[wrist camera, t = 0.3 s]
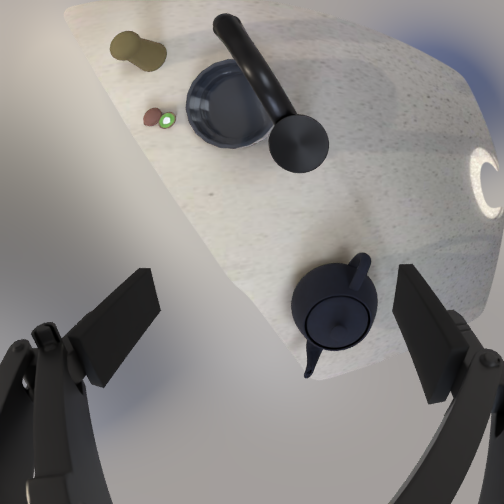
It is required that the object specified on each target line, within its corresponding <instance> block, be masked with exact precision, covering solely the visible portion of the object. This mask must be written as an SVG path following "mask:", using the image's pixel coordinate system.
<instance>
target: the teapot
mask: <svg viewBox="0 0 504 504" xmlns="http://www.w3.org/2000/svg"><path fill="white" fill-rule="evenodd" d="M370 264H371V258H370V256H369V255H368V254H366V253H359V254H357V255H356V256H355V257H354V258H353V259H352V260H351V261H350V262H349V264H348V265H347V264H342V263H332V264H326V265H322V266H319V267H317V268H315V269H313V270H312V271H310V272H309V273H307V274H306V275H305V276H304V277H303V278H302V279H301V280H300V282H299V283H298V284H297V286H296V288H295V290H294V293H293V296H292V301H291V310H292V315H293V319H294V321H295V324H296V325H297V327H298V329H299V330H300V332H301V333H302V334H303V335H304V337H305V338H306V339H307V344H306V351H307V367H306V370H305V373H304V377H305V378H309V377H310V376H311V375H312V373H313V371H314V369H315V366H316V364H317V361H318V359H319V357H320V354H321V352H322V350H323V349H324V350H328V351H340V350H345V349H348V348H351V347H353V346H355V345H357V344H358V343H359V342H361V341H362V340H363V339H364V338H365V337H366V335H367V334H368V332H369V331H370V329H371V326H372V324H373V322H374V319H375V316H376V312H377V305H378V299H377V292H376V289H375V286H374V284H373V282H372V281H371V279H370V278H369V277H368V276H367V272H368V270H369V267H370Z"/></svg>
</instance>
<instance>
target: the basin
mask: <svg viewBox="0 0 504 504" xmlns="http://www.w3.org/2000/svg"><path fill="white" fill-rule="evenodd" d="M186 112H187V116H188V121H189V123H190V125H191V126H192V128H193V130H194V131H195V133H196V134H197V135H198V136H199V137H201V138H202V139H203V140H204V141H205V142H207V143H209V144H212V145H214V146H217V147H219V148H230V149H236V148H242V147H247V146H251V145H254V144H256V143H258V142H260V141H261V140H263V139H265V138H266V137H267V136H268V135H269V134H270V133H271V131H272V129H273V127H274V124H273V123H272V121H271V119H270V117H269V116H268V114H267V112H266V110H265V109H264V107H263V105H262V103H261V102H260V100H259V98H258V97H257V95H256V93H255V92H254V90H253V88H252V87H251V85H250V83H249V82H248V80H247V79H246V77H245V75H244V74H243V72H242V71H241V69H240V67H239V66H238V64H237V63H236V61H235V60H234V59H227V60H224V61H220V62H217V63H214V64H212V65H211V66H209V67H208V68H206V69H205V70H203V71H202V72H201V73H200V74H199V75H198V76H197V78H196V79H195V80H194V81H193V82H192V84H191V87H190V89H189V91H188V94H187V101H186Z"/></svg>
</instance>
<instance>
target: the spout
mask: <svg viewBox="0 0 504 504" xmlns="http://www.w3.org/2000/svg"><path fill="white" fill-rule="evenodd" d="M213 31H214V33H215V34H216V35H217V37H218V38H219V39H220V40H221V41H222V42H223V43H224V45H225V46H226V47H227V49H228V50H229V52H230V53H231V55H232V57H233V58H234V60H235V61H236V63H237V64H238V66H239V67H240V69H241V71H242V72H243V74H244V75H245V77H246V79H247V80H248V82H249V83H250V85H251V87H252V88H253V90H254V92H255V93H256V95H257V97H258V98H259V100H260V102H261V103H262V105H263V107H264V109H265V110H266V112H267V114H268V116H269V117H270V119H271V121H272V123H273V124H274V127H273V129H272V131H271V133H270V136H269V150H270V153H271V155H272V157H273V159H274V161H275V162H276V163H277V164H278V165H279V166H280V167H282V168H283V169H285V170H287V171H290V172H293V173H306V172H310V171H312V170H314V169H316V168H317V167H319V166H320V165H321V164H322V163H323V161H324V160H325V158H326V156H327V154H328V150H329V140H328V136H327V133H326V131H325V129H324V128H323V126H322V125H321V124H320V123H319V122H318V121H316V120H315V119H313V118H311V117H309V116H305V115H298V114H297V113H296V111H295V109H294V107H293V106H292V104H291V102H290V100H289V99H288V97H287V95H286V94H285V92H284V90H283V89H282V87H281V85H280V84H279V82H278V80H277V79H276V77H275V76H274V74H273V72H272V71H271V69H270V68H269V66H268V64H267V63H266V61H265V60H264V58H263V57H262V55H261V54H260V52H259V51H258V49H257V48H256V46H255V45H254V43H253V42H252V40H251V39H250V37H249V36H248V34H247V32H246V30H245V28H244V27H243V25H242V23H241V21H240V20H239V18H237V17H236V16H233V15H231V14H227V13H224V14H220V15H218V16H217V17H216V18H215V19H214V21H213Z"/></svg>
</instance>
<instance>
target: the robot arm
mask: <svg viewBox="0 0 504 504" xmlns="http://www.w3.org/2000/svg"><path fill="white" fill-rule="evenodd" d="M160 311H161V310H160V305H159V302H158V298H157V294H156V290H155V286H154V282H153V277H152V273H151V269H150V268H139V269H138V270H136V271H135V272H134V273H133V274H132V275H131V276H130V277H129V278H128V279H127V280H125V281H124V282H123V283H122V284H121V285H120V286H119V287H118V288H117V289H115V290H114V291H113V292H112V293H111V294H110V295H109V296H108V297H107V298H106V299H105V300H103V302H101V303H100V304H99V305H98V306H97V307H96V308H95V309H94V310H93V311H91V312H89V313H88V314H86V315H85V316H84V317H83V318H82V320H80V321H79V322H78V323H77V325H75V326H74V327H73V328H72V329H71V330H70V331H69V332H68V333H67V334H66V335H65V336H64V337H63V338H61V336H60V334H59V332H58V329H57V327H56V325H55V324H54V323H53V322H47V323H43V324H41V325H39V326H37V327H36V328H35V329H34V330H33V331H32V333H31V335H32V337H33V339H34V341H35V343H36V345H37V347H38V348H32V347H31V345H30V343H29V341H28V340H26V339H22V340H17V341H15V342H14V343H13V344H12V345H11V346H10V348H9V349H8V351H7V353H6V355H5V356H4V358H3V360H2V362H1V364H0V504H113V503H112V500H111V498H110V494H109V491H108V488H107V484H106V481H105V478H104V474H103V471H102V467H101V463H100V460H99V456H98V451H97V447H96V443H95V438H94V434H93V429H92V424H91V419H90V413H89V407H88V400H87V394H86V386H85V384H84V382H83V378H84V377H85V376H86V375H87V377H88V379H89V381H90V383H91V384H92V385H96V386H99V387H103V388H104V387H105V386H106V384H107V383H108V382H109V380H110V379H111V377H112V376H113V374H114V373H115V372H116V370H117V369H118V368H119V366H120V365H121V364H122V362H123V361H124V359H125V358H126V357H127V355H128V354H129V353H130V351H131V350H132V348H133V347H134V346H135V344H136V343H137V342H138V340H139V339H140V338H141V336H142V335H143V334H144V332H145V331H146V330H147V328H148V327H149V326H150V324H151V323H152V322H153V320H154V319H155V318H156V316H157V315H158V314H159V312H160ZM392 312H393V314H394V316H395V319H396V321H397V323H398V326H399V328H400V330H401V333H402V335H403V337H404V340H405V342H406V345H407V347H408V350H409V352H410V355H411V357H412V360H413V363H414V365H415V368H416V371H417V373H418V376H419V379H420V381H421V384H422V387H423V390H424V393H425V396H426V399H427V402H428V404H434V403H439V402H443V401H445V400H446V399H447V396H448V395H449V393H450V391H451V393H452V395H453V400H452V402H451V404H450V406H449V408H448V409H447V411H446V413H445V415H444V418H443V420H442V422H441V424H440V426H439V428H438V430H437V431H436V433H435V435H434V437H433V439H432V440H431V442H430V444H429V445H428V447H427V449H426V450H425V452H424V454H423V455H422V457H421V458H420V460H419V462H418V463H417V465H416V466H415V468H414V469H413V471H412V472H411V474H410V475H409V476H408V478H407V480H406V481H405V482H404V484H403V485H402V486H401V488H400V489H399V490H398V492H397V493H396V494H395V496H394V497H393V498H392V500H391V501H390V502H389V503H388V504H451V502H452V500H453V499H454V497H455V495H456V493H457V491H458V490H459V488H460V486H461V484H462V482H463V480H464V478H465V476H466V474H467V472H468V470H469V467H470V465H471V463H472V461H473V459H474V456H475V454H476V452H477V449H478V447H479V444H480V442H481V439H482V436H483V434H484V431H485V428H486V425H487V423H488V420H489V417H490V413H491V415H492V416H491V429H490V440H489V448H488V456H487V463H486V469H485V475H484V480H483V485H482V490H481V494H480V498H479V502H478V504H504V361H503V359H502V358H501V356H500V355H499V354H498V353H497V352H495V351H493V350H491V349H484V348H483V346H482V345H481V343H480V342H479V340H478V339H477V337H476V336H475V334H474V333H473V331H472V330H471V328H470V327H469V325H468V324H467V322H466V321H465V320H464V318H463V317H462V316H461V315H460V314H459V313H457V312H456V311H454V310H446V309H445V307H444V306H443V305H442V303H441V302H440V300H439V299H438V297H437V296H436V295H435V293H434V292H433V291H432V289H431V288H430V286H429V285H428V284H427V282H426V281H425V280H424V278H423V277H422V276H421V274H420V273H419V272H418V270H417V269H416V268H415V267H414V265H413V264H400V265H399V270H398V278H397V285H396V292H395V298H394V304H393V310H392ZM23 379H24V380H25V382H26V383H27V387H26V388H24V386H23V384H22V380H23ZM34 467H35V478H33V473H34Z"/></svg>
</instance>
